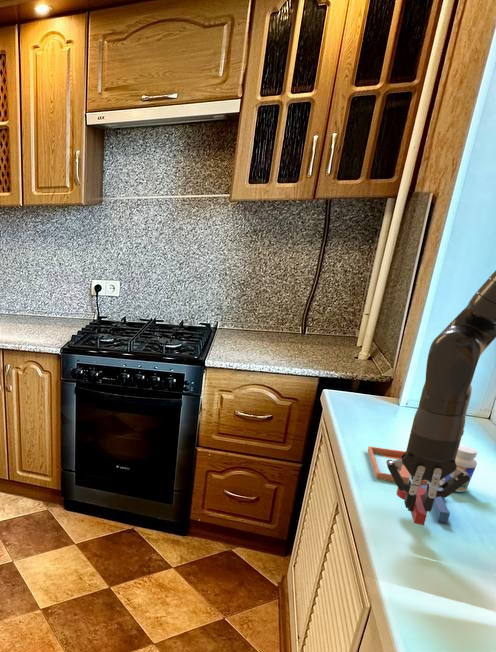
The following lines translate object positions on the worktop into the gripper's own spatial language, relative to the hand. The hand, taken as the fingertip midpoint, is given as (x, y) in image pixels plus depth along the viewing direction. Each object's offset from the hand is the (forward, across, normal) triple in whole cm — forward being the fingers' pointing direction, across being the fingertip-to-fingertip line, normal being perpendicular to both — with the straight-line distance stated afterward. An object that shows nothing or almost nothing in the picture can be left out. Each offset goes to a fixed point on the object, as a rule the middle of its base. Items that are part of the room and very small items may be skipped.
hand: (416, 510), depth 105 cm
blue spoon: (+5, -6, -13) cm, 15 cm away
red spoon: (+1, 0, -3) cm, 3 cm away
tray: (+5, -1, -29) cm, 30 cm away
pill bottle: (+5, -11, -25) cm, 28 cm away
